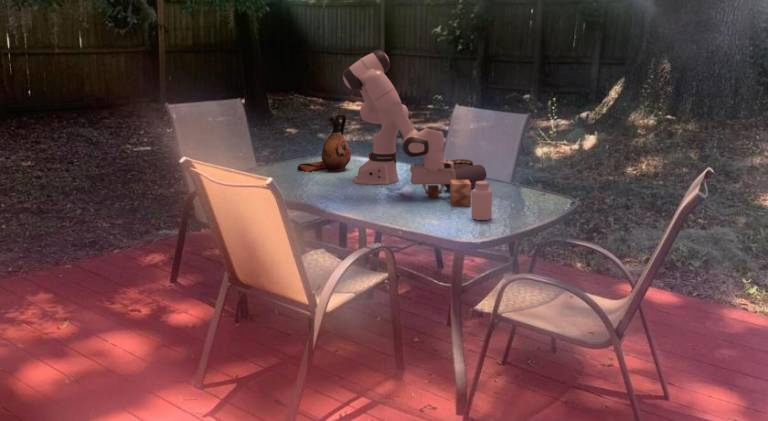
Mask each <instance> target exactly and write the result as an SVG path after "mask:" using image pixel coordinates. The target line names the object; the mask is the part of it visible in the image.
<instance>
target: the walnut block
mask: <svg viewBox="0 0 768 421" xmlns="http://www.w3.org/2000/svg"><path fill="white" fill-rule="evenodd" d="M427 189H428V194H427V198H428V199H439V197H440V196H439V195H440V194H439V189H440V188H439V184H427Z"/></svg>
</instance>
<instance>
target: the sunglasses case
mask: <svg viewBox="0 0 768 421" xmlns="http://www.w3.org/2000/svg"><path fill="white" fill-rule="evenodd" d="M298 170H300V171H304V172H310V173H313V172H312V171H315V172H320V171H325V170H327V167H326V166H325V165H324V163H323V161H322V160H321V161H314V162H313V161H312V162H308V163H307V162H306V163H300V164H299V165H298V166H297V171H298ZM319 170H320V171H319ZM300 171H299V172H300ZM304 172H303V173H304Z"/></svg>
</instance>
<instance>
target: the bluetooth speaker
mask: <svg viewBox="0 0 768 421" xmlns="http://www.w3.org/2000/svg"><path fill="white" fill-rule="evenodd" d="M455 173H456V180H469V181H470V183H471V188H473V187H474V185H475V183H476V182H477V181H486V180H485V179H486V178H487V170H486V168H485V166H484V165H481V164H473V165H472V166H467V167H462V168H459V169H455ZM444 188H446V189H448V190H450V184H444Z"/></svg>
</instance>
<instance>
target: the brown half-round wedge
mask: <svg viewBox="0 0 768 421" xmlns="http://www.w3.org/2000/svg"><path fill="white" fill-rule="evenodd" d="M449 161H451V162H453V164H454V167H453V168H454V170H455V169H459V168H462V167H467V166H472V165H474V162H473V160H471V159H464V158H459V159H457V158H456V159H451V160H449Z"/></svg>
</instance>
